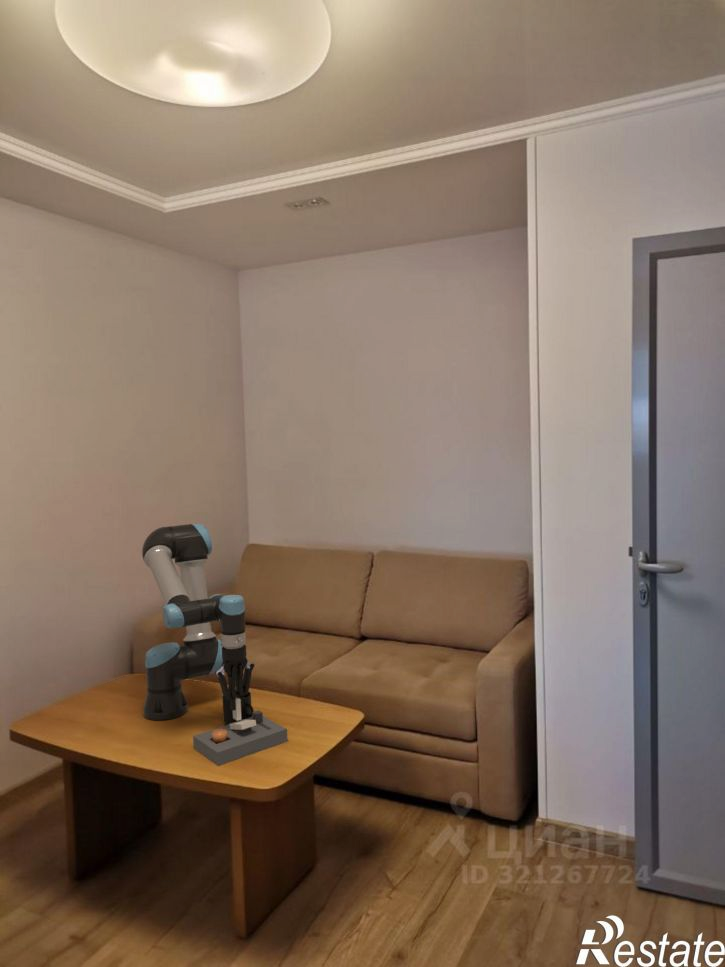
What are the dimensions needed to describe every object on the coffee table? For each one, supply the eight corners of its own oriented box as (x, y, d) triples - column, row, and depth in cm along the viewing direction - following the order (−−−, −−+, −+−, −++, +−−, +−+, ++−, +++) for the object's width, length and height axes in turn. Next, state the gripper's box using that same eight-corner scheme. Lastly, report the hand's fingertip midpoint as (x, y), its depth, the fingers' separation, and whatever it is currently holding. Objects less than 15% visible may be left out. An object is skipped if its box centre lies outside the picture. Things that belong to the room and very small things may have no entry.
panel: (193, 748, 226) (192, 732, 225) (260, 726, 241) (260, 711, 240) (218, 765, 213) (217, 748, 213) (287, 741, 228) (286, 725, 228)
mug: (244, 730, 238) (242, 703, 237) (217, 723, 245) (216, 696, 244) (263, 720, 246) (262, 694, 245) (237, 713, 252) (236, 688, 252)
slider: (252, 721, 234) (252, 712, 234) (258, 719, 236) (258, 710, 236) (256, 723, 232) (255, 714, 232) (262, 721, 234) (262, 712, 234)
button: (210, 750, 223) (209, 731, 223) (223, 746, 226) (222, 727, 225) (217, 755, 220) (216, 736, 219) (230, 750, 222) (229, 732, 222)
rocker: (230, 729, 229) (229, 723, 229) (244, 724, 232) (243, 719, 232) (242, 729, 222) (241, 724, 223) (256, 725, 226) (255, 719, 226)
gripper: (220, 652, 221) (224, 728, 223) (258, 643, 229) (261, 716, 231) (209, 647, 227) (212, 721, 229) (246, 638, 235) (249, 709, 237)
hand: (237, 718), depth 230 cm, fingers closed
